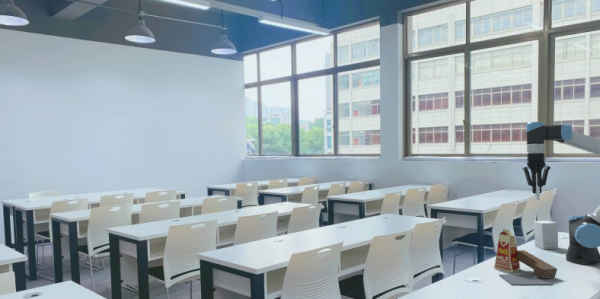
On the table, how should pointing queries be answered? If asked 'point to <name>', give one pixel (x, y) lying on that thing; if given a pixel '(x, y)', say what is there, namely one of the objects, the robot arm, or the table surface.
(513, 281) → the mat
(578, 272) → the table surface
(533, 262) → the wooden block
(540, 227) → the supplement box
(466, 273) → the table surface
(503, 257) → the milk carton
